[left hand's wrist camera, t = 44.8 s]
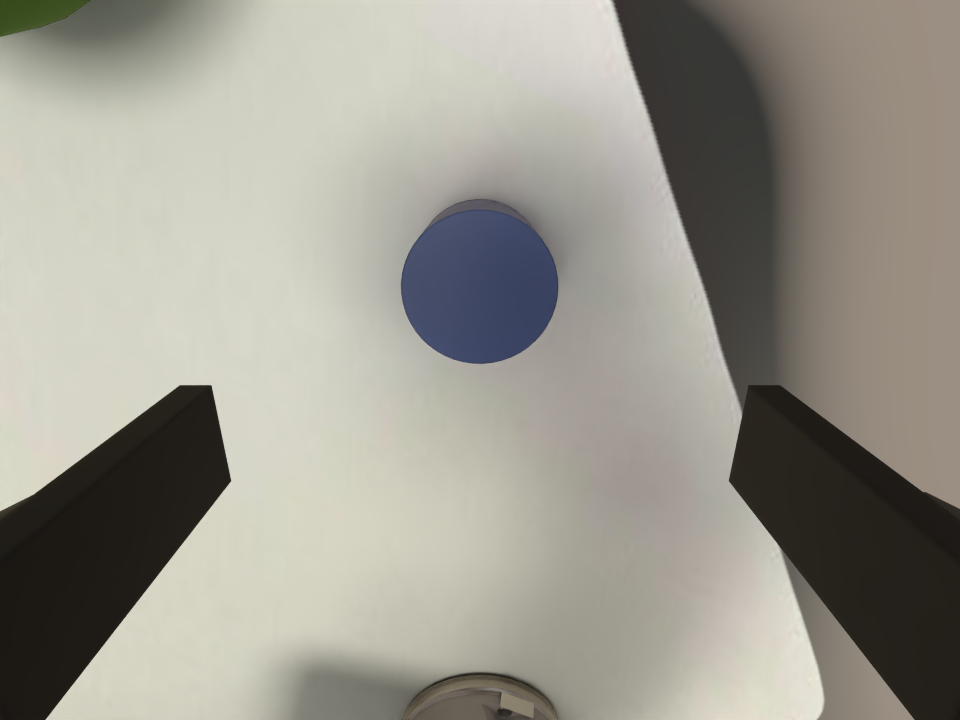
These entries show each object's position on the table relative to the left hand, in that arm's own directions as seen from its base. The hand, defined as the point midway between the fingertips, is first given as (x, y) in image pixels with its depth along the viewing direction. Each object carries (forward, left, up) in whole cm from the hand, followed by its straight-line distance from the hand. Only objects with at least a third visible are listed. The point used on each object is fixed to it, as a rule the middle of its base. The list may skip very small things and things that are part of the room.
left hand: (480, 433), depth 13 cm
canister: (0, 0, -22) cm, 22 cm away
